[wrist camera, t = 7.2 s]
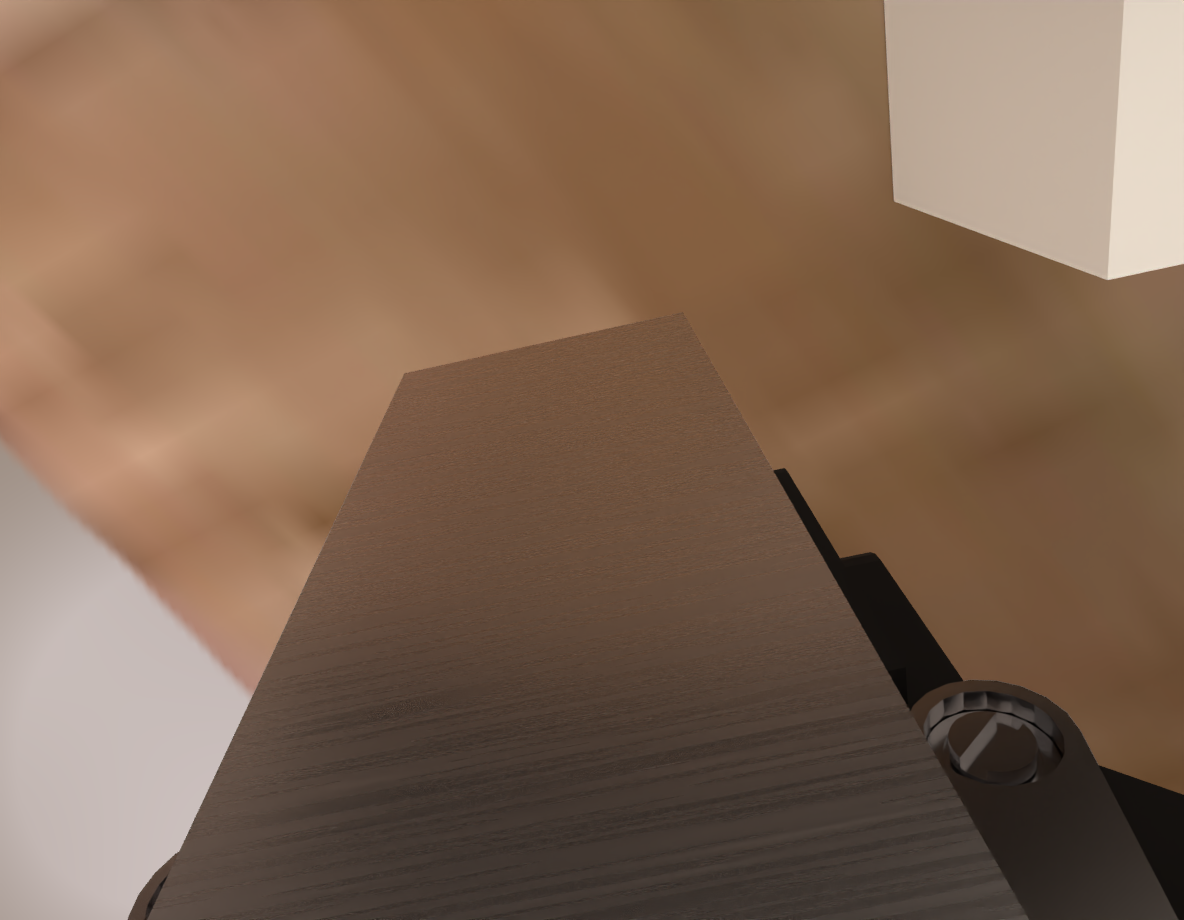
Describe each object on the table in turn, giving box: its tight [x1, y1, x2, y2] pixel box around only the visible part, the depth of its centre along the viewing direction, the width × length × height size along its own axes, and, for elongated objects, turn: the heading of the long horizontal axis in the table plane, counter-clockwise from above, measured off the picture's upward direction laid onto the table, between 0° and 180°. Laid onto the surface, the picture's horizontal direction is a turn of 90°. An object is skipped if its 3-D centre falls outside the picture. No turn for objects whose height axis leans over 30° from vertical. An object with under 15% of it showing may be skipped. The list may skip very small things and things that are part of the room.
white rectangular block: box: [147, 312, 1029, 920], centre depth 8 cm, size 4×6×10 cm, turn 12°
